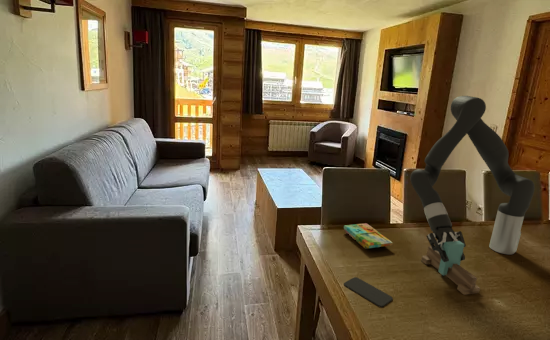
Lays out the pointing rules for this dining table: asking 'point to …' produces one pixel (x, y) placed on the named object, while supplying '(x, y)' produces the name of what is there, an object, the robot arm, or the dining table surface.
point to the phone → (368, 292)
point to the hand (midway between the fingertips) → (454, 260)
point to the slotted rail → (453, 273)
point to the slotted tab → (451, 255)
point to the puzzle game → (367, 236)
